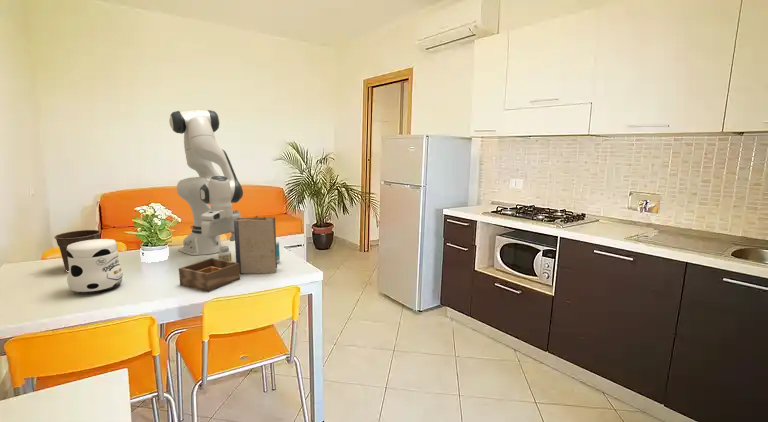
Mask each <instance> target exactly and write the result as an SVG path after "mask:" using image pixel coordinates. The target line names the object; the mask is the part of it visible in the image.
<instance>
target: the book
mask: <svg viewBox="0 0 768 422" xmlns="http://www.w3.org/2000/svg"><path fill="white" fill-rule="evenodd" d="M276 230H277V229H276V217H275V216H272V217H271V216H270V217H269V216H268V217H266V216H264V217H259V216H258V215H255V216H254V217H241V218H236V219H234V231H235V241H234V247H235V263H239V267H240V274H276V273H277V268H278V265H277V264H278V263H277V257H276V239H277V235H276V233H277V232H276Z"/></svg>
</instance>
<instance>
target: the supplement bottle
mask: <svg viewBox="0 0 768 422" xmlns="http://www.w3.org/2000/svg"><path fill="white" fill-rule="evenodd" d="M219 250H220V252H217V253H218V254H217V257H218V258H217V259H219V260H225V261H230V262H232V252H231V251H230V247H229V246H227V245H224V246H223V245H222V247H220V248H219Z"/></svg>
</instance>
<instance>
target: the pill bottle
mask: <svg viewBox="0 0 768 422" xmlns="http://www.w3.org/2000/svg"><path fill="white" fill-rule="evenodd" d="M276 257H277V264H279V263H280V262H281V261H280V260H281V256H280V241H279V239H278V238H276Z"/></svg>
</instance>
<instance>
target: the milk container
mask: <svg viewBox="0 0 768 422" xmlns="http://www.w3.org/2000/svg"><path fill="white" fill-rule="evenodd" d="M67 256H68V257H67V259H68V264H69V272H67V278H66V279H67V280H66V281H67V285H68V288H69V289H70V291H71V292H74V293H75V294H76V293H77V294H93V293H99V292H105V291H108V290H111V289H113V288H115V287H118V286H119V285H120V284H121V283H122V281H123V276H124V274H123V273H124V272H123V269H122V266H121V264H120V261H119V252H118V245H117V241H116V240H115V239H113V238H112V239H111V238H110V239H109V238H100V239H94V240H86V241H80V242H76V243H72V244H70V245H68V246H67Z"/></svg>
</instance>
